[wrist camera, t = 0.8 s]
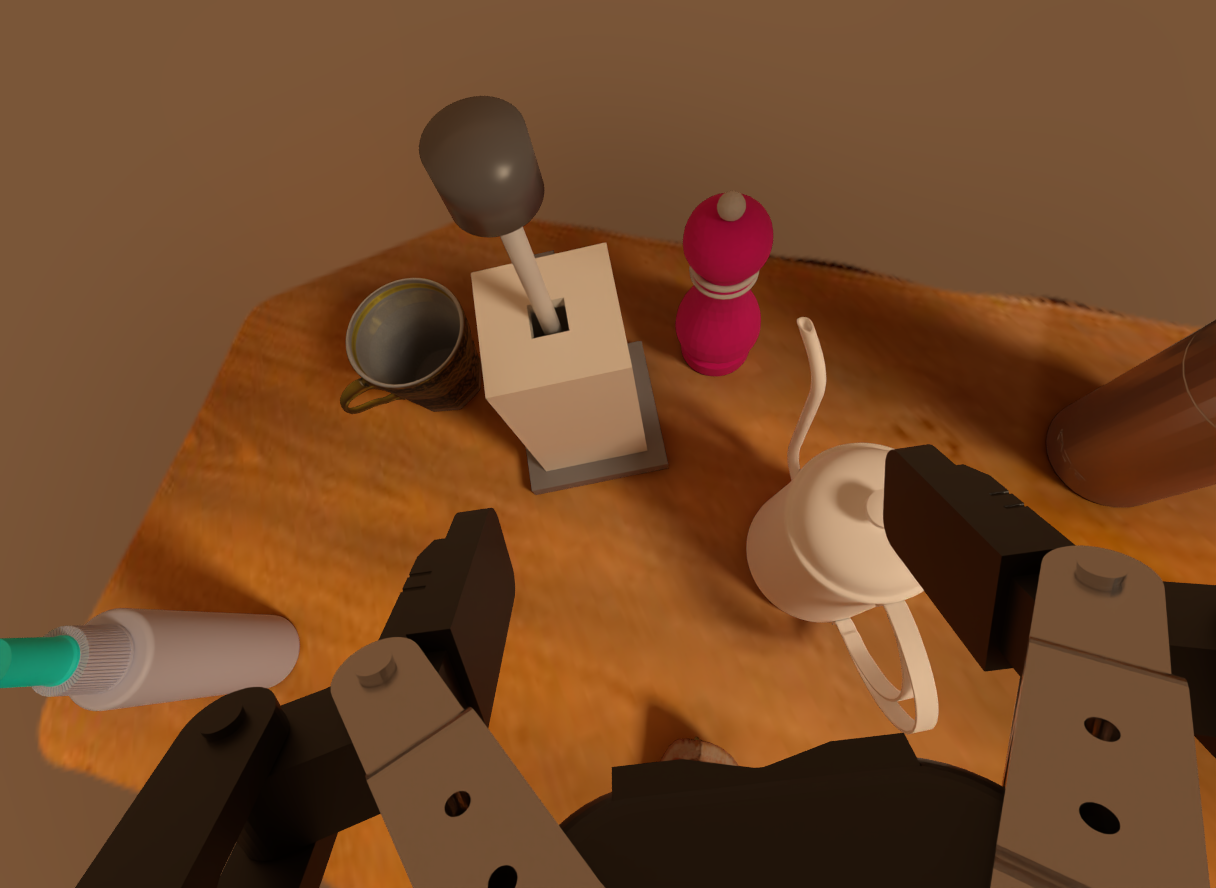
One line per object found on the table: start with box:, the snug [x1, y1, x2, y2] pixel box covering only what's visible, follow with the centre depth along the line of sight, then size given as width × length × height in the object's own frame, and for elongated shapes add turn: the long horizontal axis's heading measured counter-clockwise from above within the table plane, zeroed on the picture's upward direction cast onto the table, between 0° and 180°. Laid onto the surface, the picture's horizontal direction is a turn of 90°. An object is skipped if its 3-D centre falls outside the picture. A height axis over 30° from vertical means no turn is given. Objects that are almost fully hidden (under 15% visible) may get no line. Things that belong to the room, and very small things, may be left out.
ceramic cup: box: [340, 278, 481, 414], centre depth 52 cm, size 13×10×10 cm
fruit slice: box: [661, 737, 738, 766], centre depth 42 cm, size 8×7×5 cm
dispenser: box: [471, 243, 668, 495], centre depth 46 cm, size 12×13×18 cm
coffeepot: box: [746, 317, 938, 734], centre depth 40 cm, size 11×25×19 cm, turn 12°
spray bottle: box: [0, 608, 300, 711], centre depth 41 cm, size 6×6×22 cm
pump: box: [419, 96, 563, 336], centre depth 33 cm, size 4×4×21 cm
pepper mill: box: [675, 191, 773, 376], centre depth 46 cm, size 7×7×20 cm
